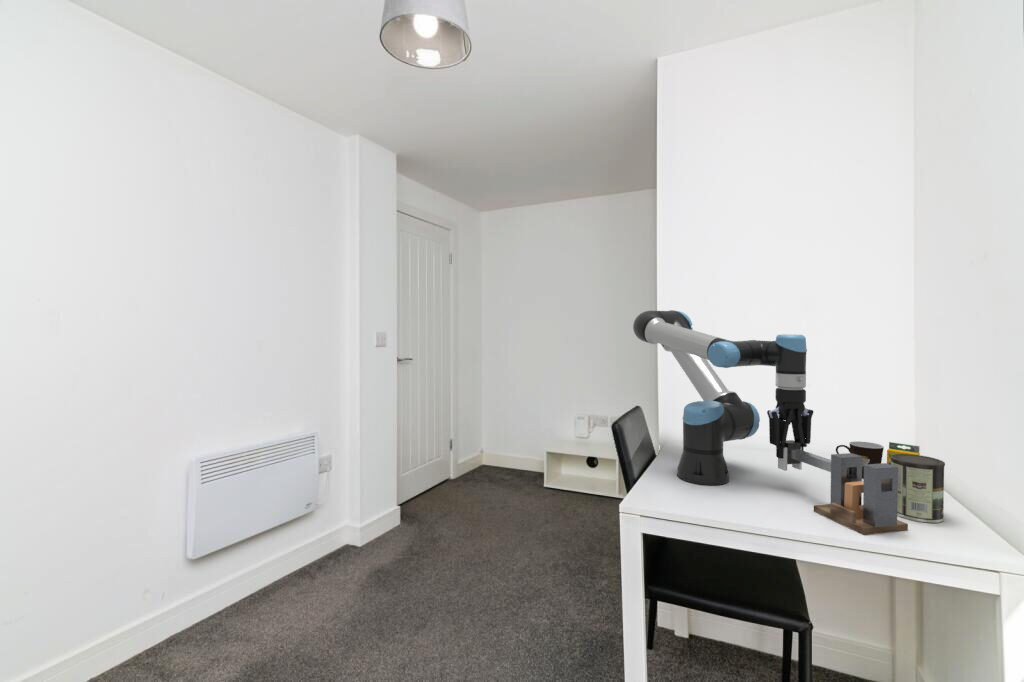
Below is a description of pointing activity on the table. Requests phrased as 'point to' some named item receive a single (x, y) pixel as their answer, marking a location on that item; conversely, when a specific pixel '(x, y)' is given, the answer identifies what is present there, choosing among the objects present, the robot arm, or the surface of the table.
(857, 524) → the tray
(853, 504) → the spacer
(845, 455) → the bearing blocks
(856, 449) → the coffee mug
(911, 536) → the table surface
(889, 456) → the crayon box
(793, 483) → the table surface
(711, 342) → the robot arm
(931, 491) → the coffee can
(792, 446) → the shaft
